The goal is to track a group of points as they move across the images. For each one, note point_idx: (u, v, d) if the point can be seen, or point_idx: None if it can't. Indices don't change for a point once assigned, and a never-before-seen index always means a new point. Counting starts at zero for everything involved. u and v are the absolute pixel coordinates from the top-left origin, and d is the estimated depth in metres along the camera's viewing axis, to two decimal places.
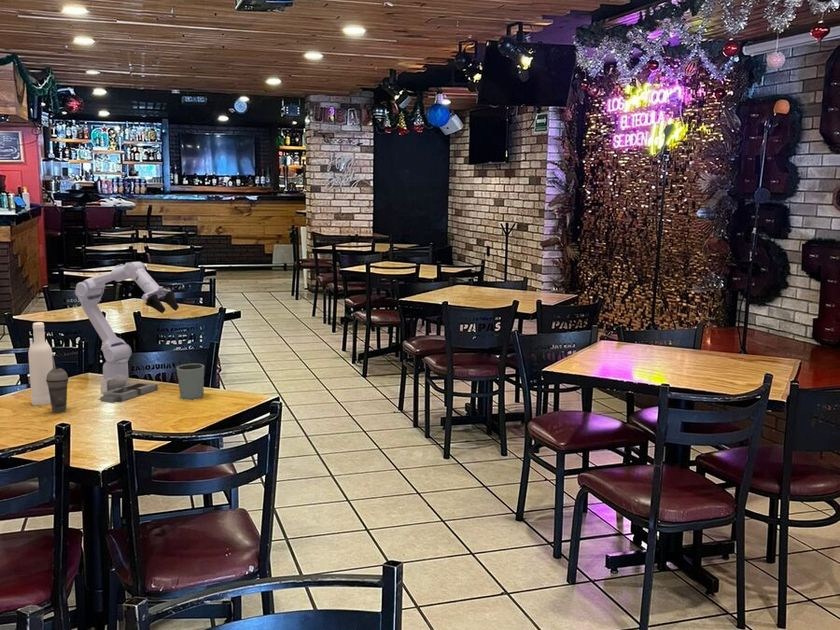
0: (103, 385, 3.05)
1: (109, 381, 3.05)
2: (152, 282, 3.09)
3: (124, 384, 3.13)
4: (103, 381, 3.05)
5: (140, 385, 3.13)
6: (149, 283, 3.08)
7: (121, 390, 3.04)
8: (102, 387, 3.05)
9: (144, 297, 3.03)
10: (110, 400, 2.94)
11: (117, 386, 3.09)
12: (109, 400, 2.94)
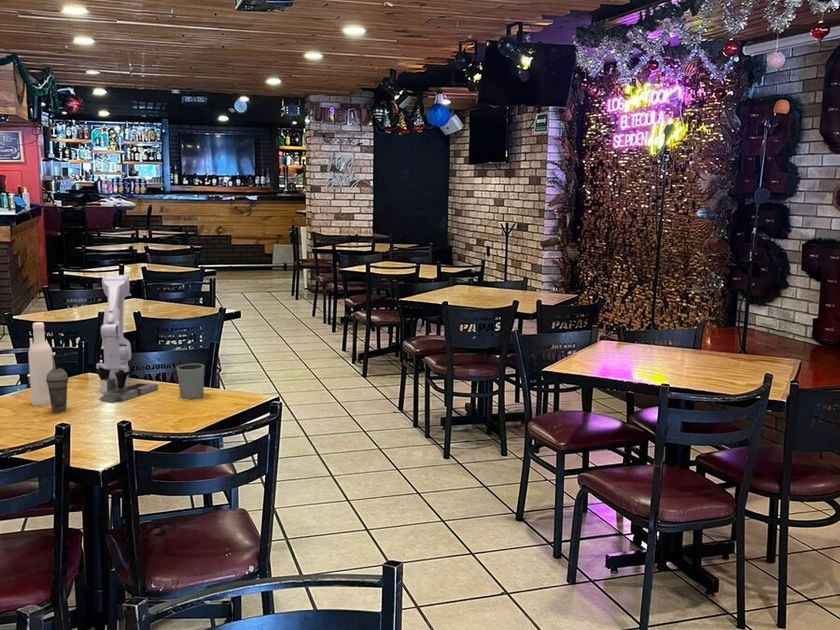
0: (103, 385, 3.05)
1: (109, 381, 3.05)
2: (105, 357, 3.05)
3: None
4: (103, 381, 3.05)
5: (140, 385, 3.13)
6: (104, 356, 3.06)
7: (121, 390, 3.04)
8: (102, 387, 3.05)
9: None
10: (110, 400, 2.94)
11: (117, 386, 3.09)
12: (109, 400, 2.94)
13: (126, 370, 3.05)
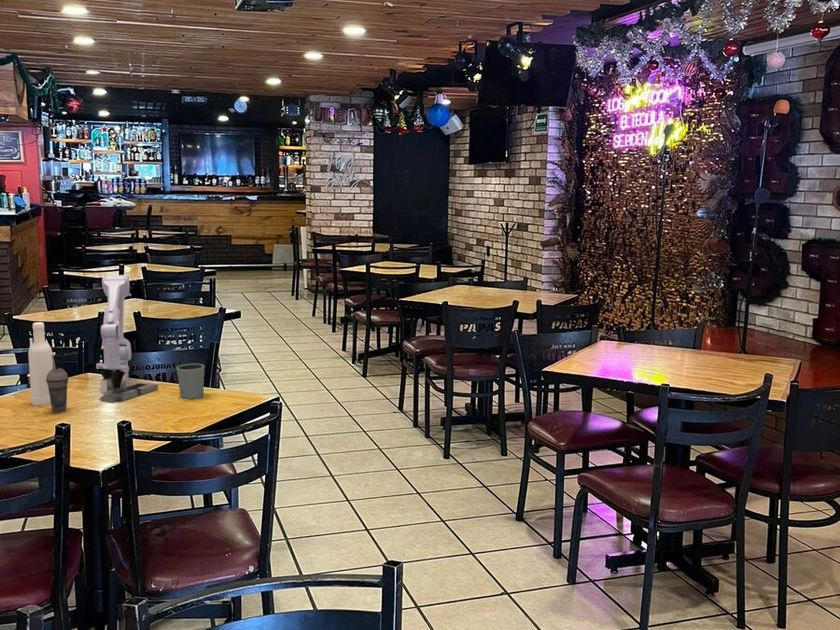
0: (103, 384, 3.05)
1: (109, 381, 3.05)
2: (105, 357, 3.05)
3: (124, 384, 3.13)
4: (103, 381, 3.05)
5: (140, 385, 3.13)
6: (104, 356, 3.06)
7: (121, 390, 3.04)
8: (102, 387, 3.05)
9: None
10: (110, 400, 2.94)
11: None
12: (109, 400, 2.94)
13: (126, 370, 3.05)
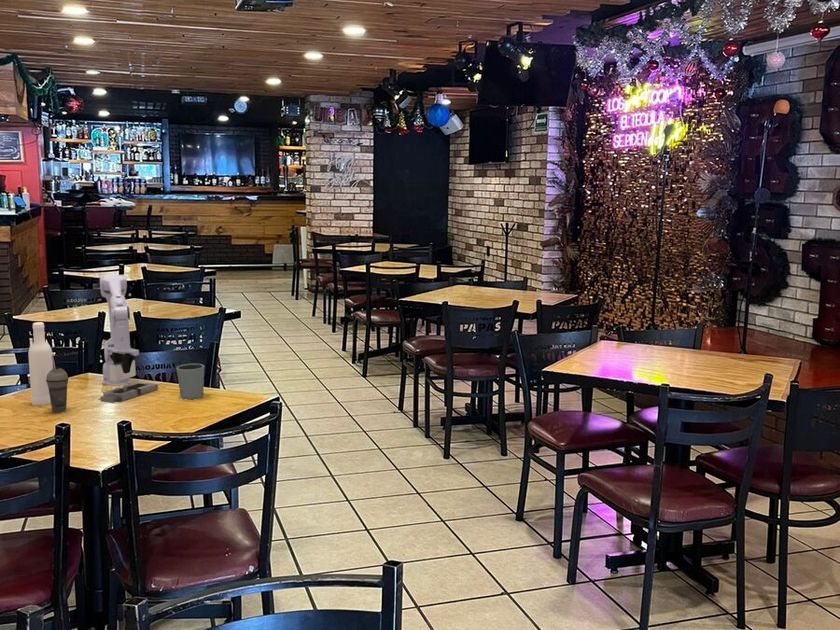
0: (112, 369, 3.00)
1: (118, 366, 3.01)
2: (115, 341, 3.01)
3: (133, 369, 3.08)
4: (112, 366, 3.00)
5: (140, 385, 3.13)
6: (113, 340, 3.02)
7: (121, 390, 3.04)
8: (111, 372, 3.01)
9: None
10: (110, 400, 2.94)
11: None
12: (109, 400, 2.94)
13: (136, 354, 3.01)
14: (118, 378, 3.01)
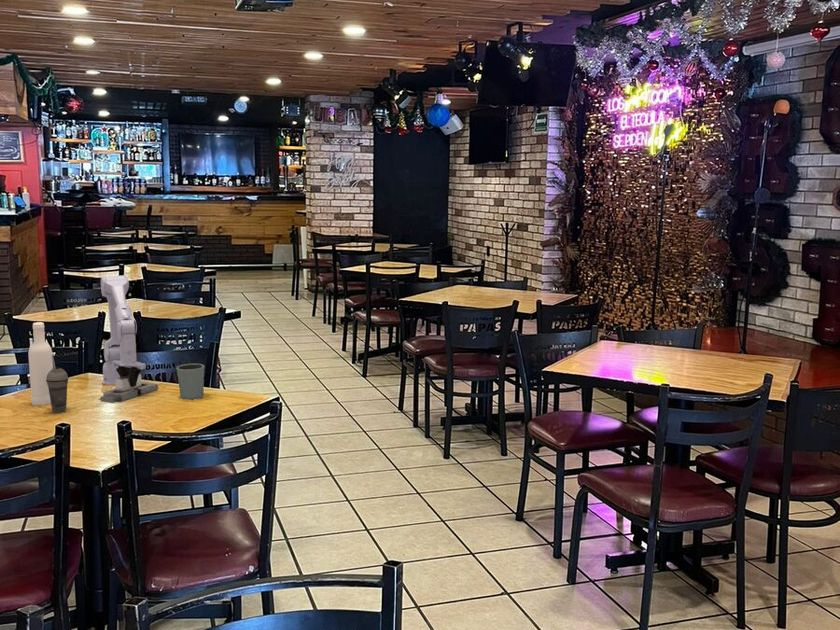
0: (119, 384, 3.00)
1: (125, 380, 3.00)
2: (121, 354, 3.01)
3: (139, 383, 3.08)
4: (119, 380, 3.00)
5: None
6: (120, 353, 3.02)
7: None
8: (118, 386, 3.00)
9: None
10: (110, 400, 2.94)
11: None
12: (109, 400, 2.94)
13: (143, 367, 3.01)
14: None
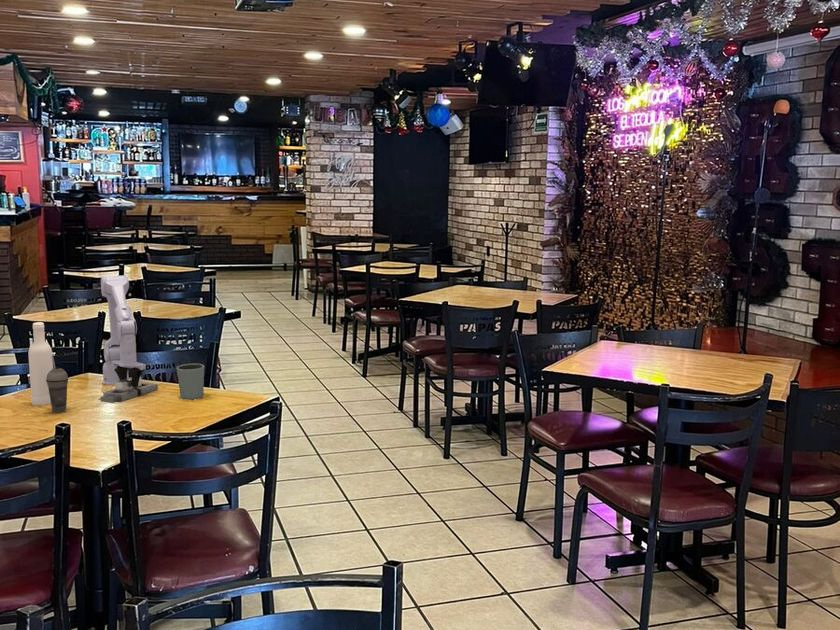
0: (119, 387, 3.00)
1: (125, 383, 3.01)
2: (121, 355, 3.01)
3: (140, 386, 3.08)
4: (119, 383, 3.00)
5: None
6: (120, 354, 3.02)
7: None
8: (118, 389, 3.00)
9: None
10: (110, 400, 2.94)
11: (133, 388, 3.05)
12: (109, 400, 2.94)
13: (143, 368, 3.01)
14: None
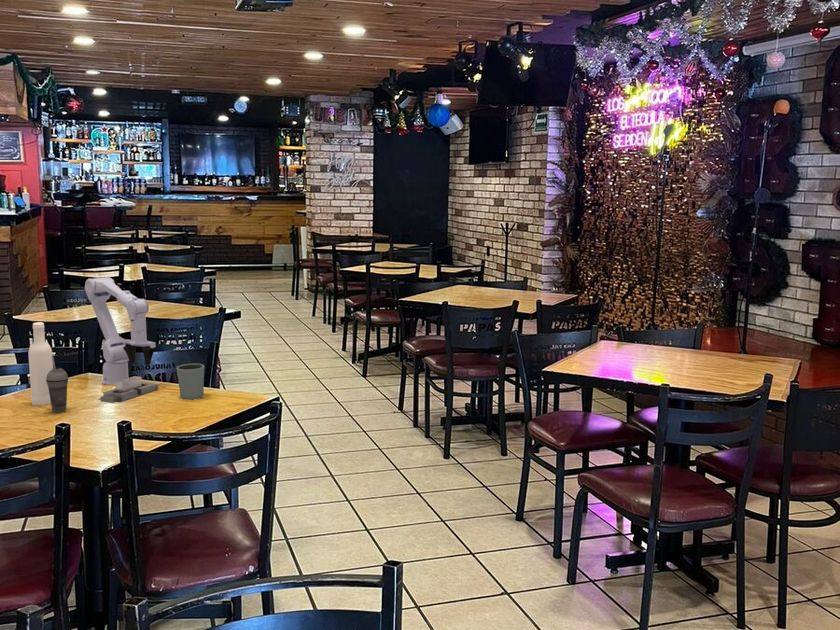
0: (119, 387, 3.00)
1: (125, 383, 3.01)
2: (132, 333, 3.10)
3: (140, 386, 3.08)
4: (119, 383, 3.00)
5: None
6: (131, 332, 3.11)
7: None
8: (118, 389, 3.00)
9: None
10: (110, 400, 2.94)
11: (133, 388, 3.05)
12: (109, 400, 2.94)
13: (153, 346, 3.10)
14: None
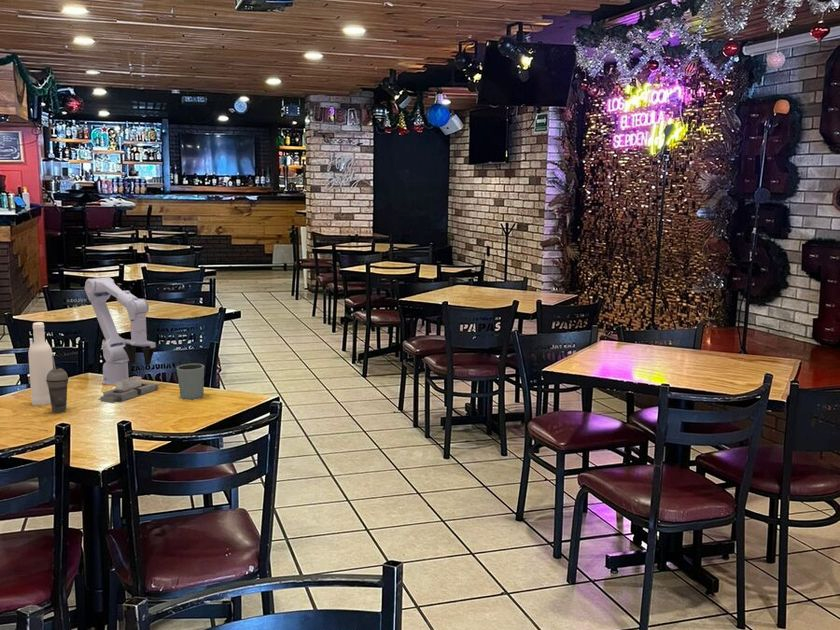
0: (119, 387, 3.00)
1: (125, 383, 3.01)
2: (132, 333, 3.10)
3: (140, 386, 3.08)
4: (119, 383, 3.00)
5: None
6: (131, 332, 3.11)
7: None
8: (118, 389, 3.00)
9: None
10: (110, 400, 2.94)
11: (133, 388, 3.05)
12: (109, 400, 2.94)
13: (153, 346, 3.10)
14: None
